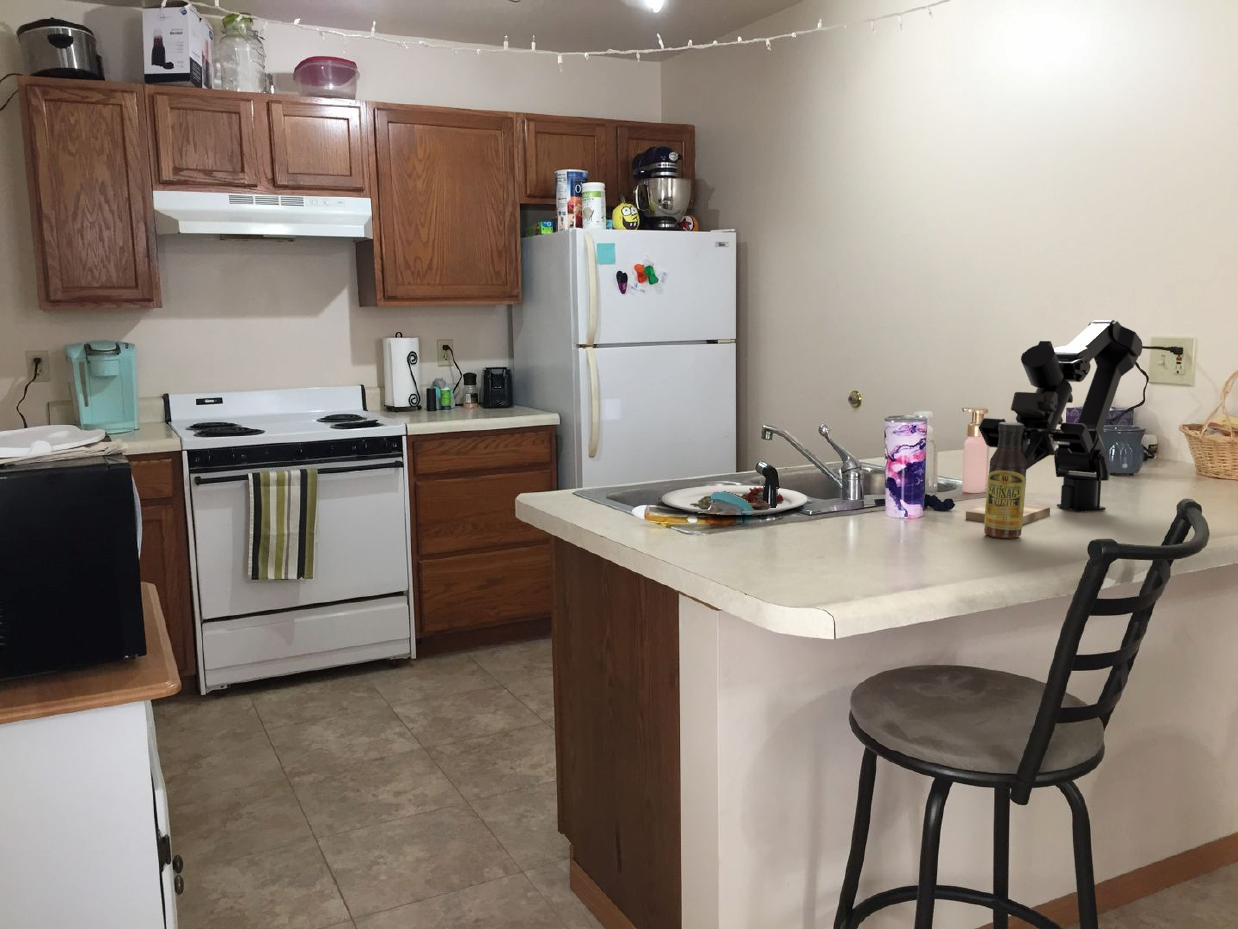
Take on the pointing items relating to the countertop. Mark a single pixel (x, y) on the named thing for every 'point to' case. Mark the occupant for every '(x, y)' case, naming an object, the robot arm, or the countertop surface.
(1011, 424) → the sauce bottle
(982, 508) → the oak cutting board
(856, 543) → the countertop surface
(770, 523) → the countertop surface
